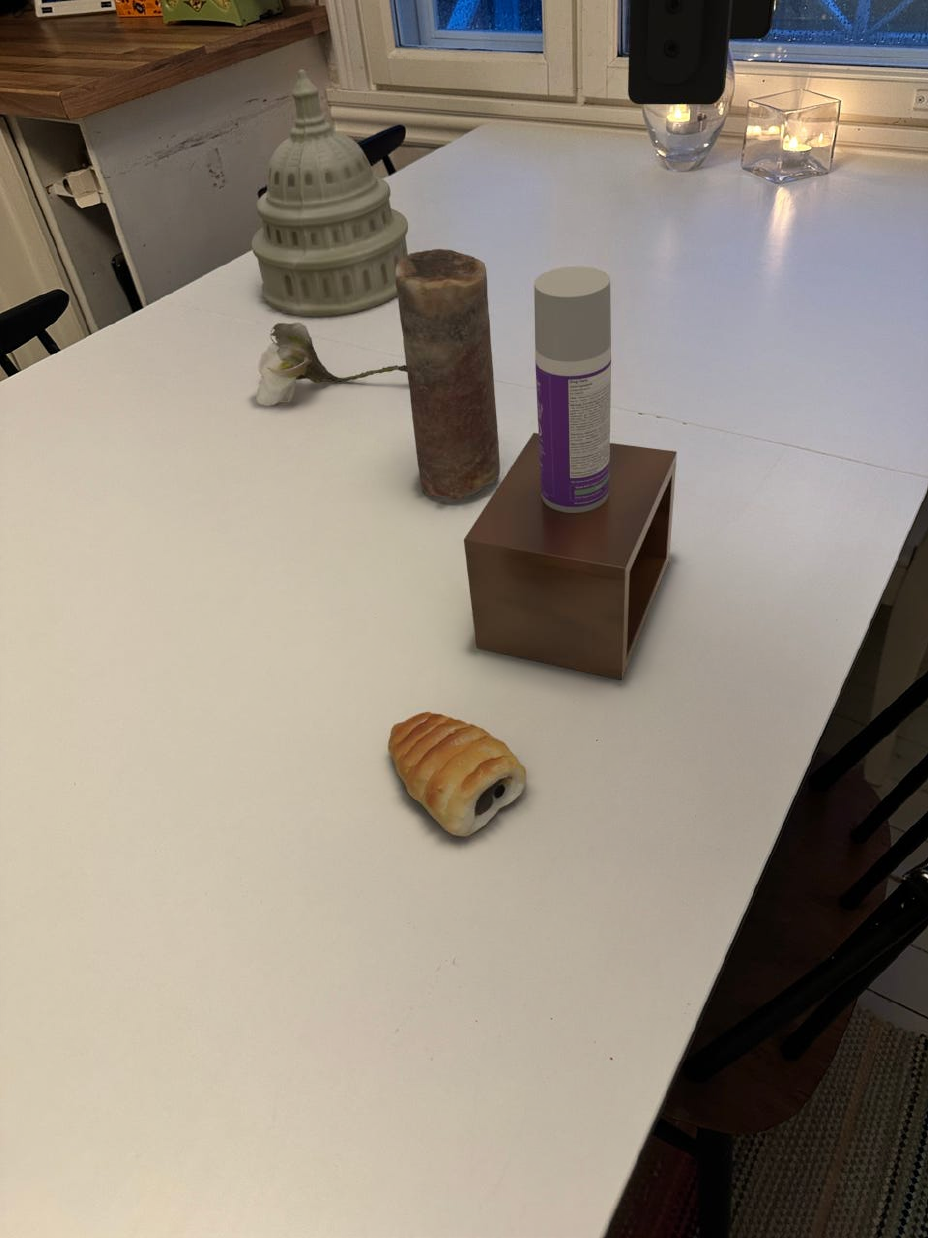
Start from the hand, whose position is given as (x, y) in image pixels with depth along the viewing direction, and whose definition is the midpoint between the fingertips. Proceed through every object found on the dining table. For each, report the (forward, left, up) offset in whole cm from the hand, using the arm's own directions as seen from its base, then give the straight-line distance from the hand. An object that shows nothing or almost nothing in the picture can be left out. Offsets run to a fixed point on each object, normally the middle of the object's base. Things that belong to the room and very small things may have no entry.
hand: (705, 66), depth 35 cm
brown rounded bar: (+24, -24, -38) cm, 51 cm away
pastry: (+11, +8, -38) cm, 41 cm away
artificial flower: (+42, -37, -38) cm, 68 cm away
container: (+9, -11, -28) cm, 32 cm away
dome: (+58, -63, -38) cm, 94 cm away
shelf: (+9, -11, -38) cm, 41 cm away
